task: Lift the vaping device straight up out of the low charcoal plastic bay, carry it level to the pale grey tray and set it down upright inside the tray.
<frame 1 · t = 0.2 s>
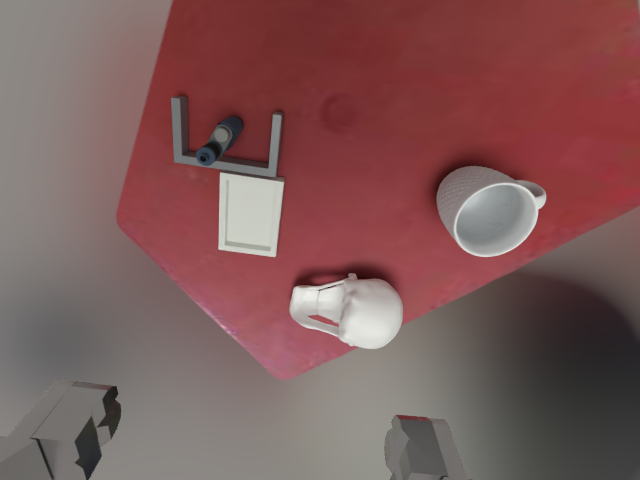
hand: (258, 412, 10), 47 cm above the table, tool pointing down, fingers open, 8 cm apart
bay: (231, 131, 52), on the table
tray: (251, 212, 58), on the table
vaping device: (231, 131, 52), on the table
mug: (465, 187, 56), on the table
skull: (345, 286, 66), on the table
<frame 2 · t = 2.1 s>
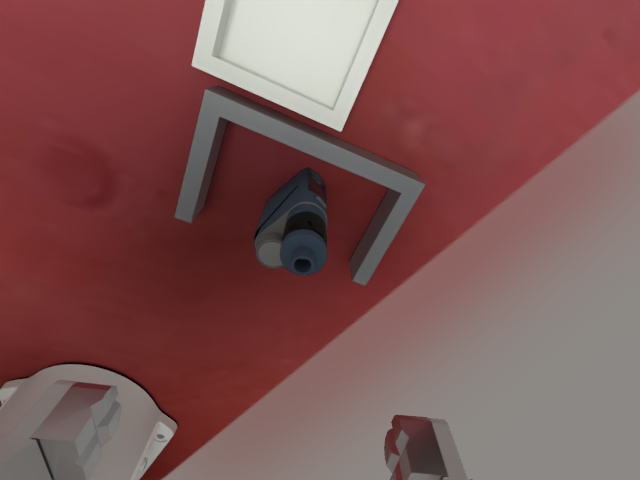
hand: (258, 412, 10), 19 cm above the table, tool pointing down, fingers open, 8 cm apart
bay: (296, 194, 27), on the table
vaping device: (296, 193, 27), on the table
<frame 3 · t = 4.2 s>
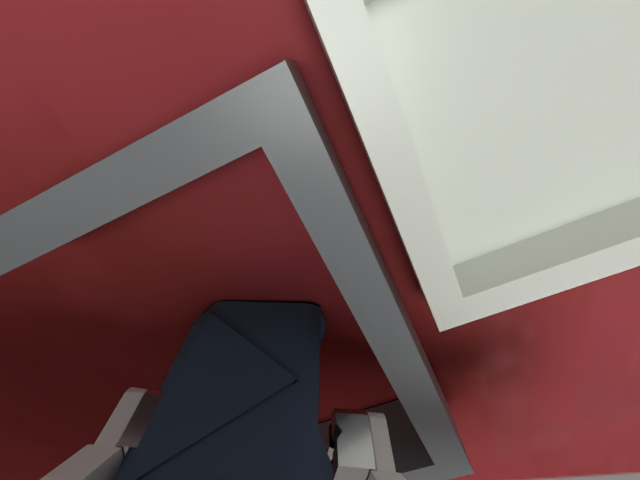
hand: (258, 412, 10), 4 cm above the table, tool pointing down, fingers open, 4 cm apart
bay: (266, 324, 13), on the table
tray: (616, 61, 9), on the table
vaping device: (266, 321, 13), on the table, touching gripper
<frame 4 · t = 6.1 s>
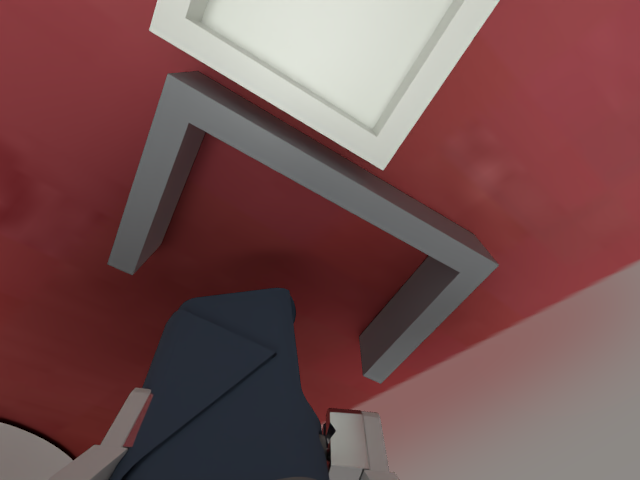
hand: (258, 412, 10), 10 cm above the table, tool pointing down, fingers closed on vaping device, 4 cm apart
bay: (298, 243, 18), on the table
vaping device: (238, 311, 14), point 5 cm above the table, touching gripper
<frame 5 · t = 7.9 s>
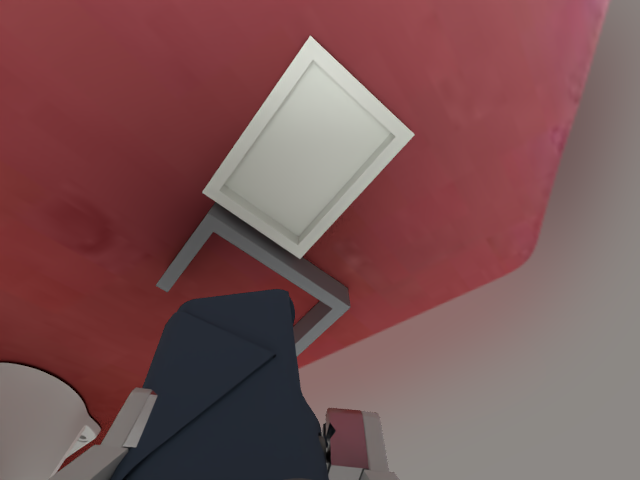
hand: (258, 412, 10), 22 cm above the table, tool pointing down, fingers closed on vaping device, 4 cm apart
bay: (256, 281, 34), on the table
tray: (305, 157, 28), on the table
vaping device: (237, 313, 14), point 17 cm above the table, touching gripper
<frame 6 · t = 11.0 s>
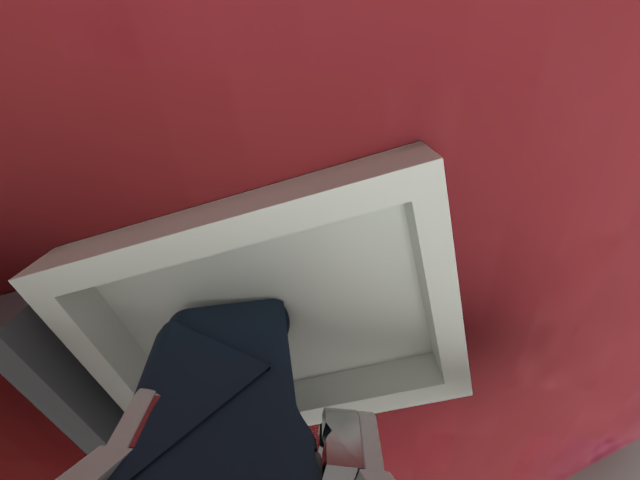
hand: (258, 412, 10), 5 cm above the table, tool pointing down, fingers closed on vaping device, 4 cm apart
bay: (67, 418, 18), on the table
tray: (272, 305, 14), on the table
vaping device: (231, 322, 14), point 1 cm above the table, touching gripper, tray
when the fingers open (5 cm above the table, at t = 11.1 s): vaping device stays where it is, resting on tray.
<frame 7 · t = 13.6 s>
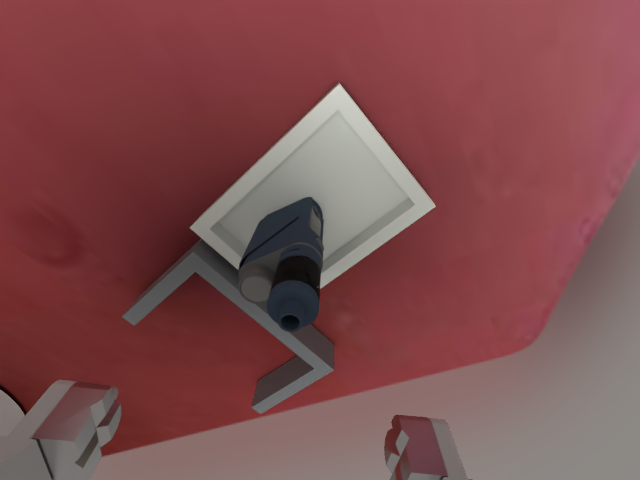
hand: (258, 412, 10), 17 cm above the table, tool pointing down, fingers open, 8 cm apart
bay: (236, 323, 31), on the table
tray: (310, 205, 25), on the table
vaping device: (292, 218, 25), resting on tray
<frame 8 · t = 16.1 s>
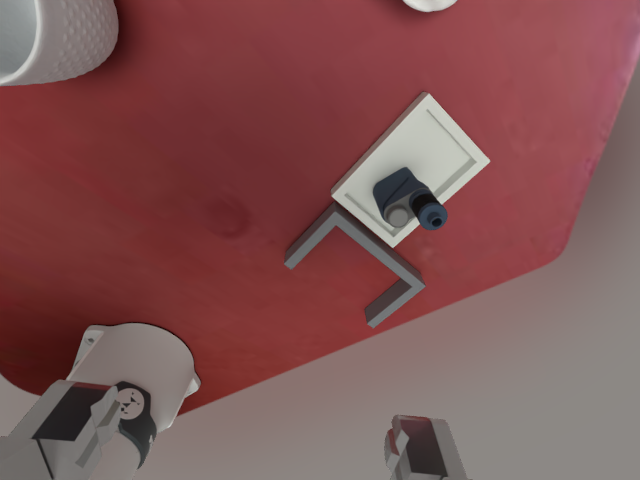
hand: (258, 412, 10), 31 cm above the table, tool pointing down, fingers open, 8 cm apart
bay: (350, 265, 44), on the table
tray: (404, 173, 38), on the table
vaping device: (393, 183, 39), resting on tray
mug: (70, 8, 31), on the table
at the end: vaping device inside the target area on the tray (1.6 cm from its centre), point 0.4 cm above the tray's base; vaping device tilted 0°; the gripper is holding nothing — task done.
